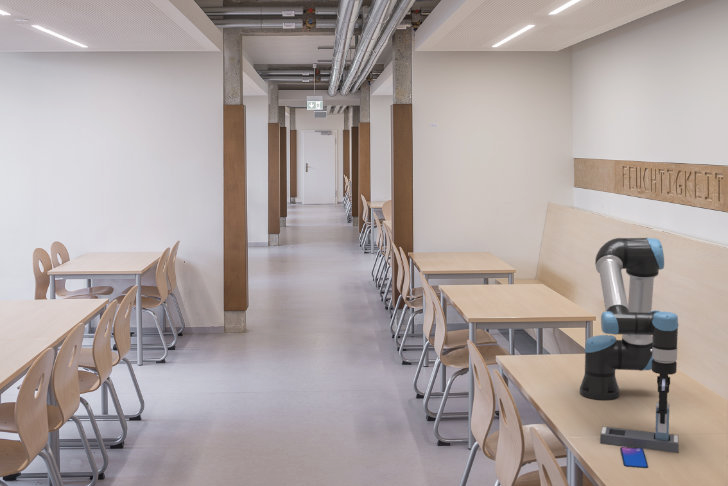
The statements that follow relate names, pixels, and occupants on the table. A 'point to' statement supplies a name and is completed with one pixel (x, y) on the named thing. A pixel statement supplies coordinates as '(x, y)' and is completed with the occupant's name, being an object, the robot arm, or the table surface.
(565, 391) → the table surface
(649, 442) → the panel
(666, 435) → the plug
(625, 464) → the smartphone
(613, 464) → the table surface
